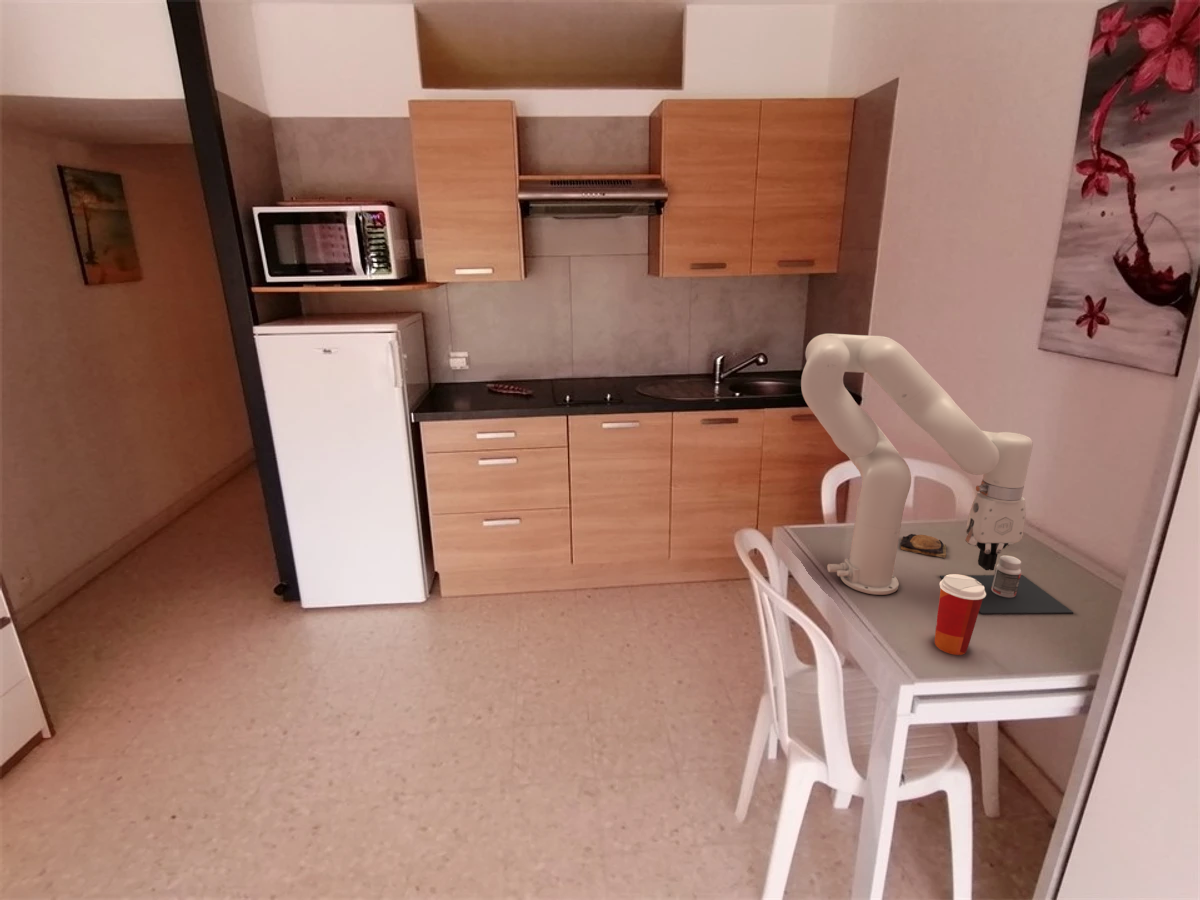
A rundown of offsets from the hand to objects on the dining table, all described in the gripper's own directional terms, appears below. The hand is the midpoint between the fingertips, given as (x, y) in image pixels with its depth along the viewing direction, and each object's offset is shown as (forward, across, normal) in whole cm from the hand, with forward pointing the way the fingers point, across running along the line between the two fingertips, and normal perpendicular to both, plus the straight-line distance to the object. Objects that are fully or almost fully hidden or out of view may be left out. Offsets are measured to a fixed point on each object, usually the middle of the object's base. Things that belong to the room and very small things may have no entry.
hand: (985, 567), depth 136 cm
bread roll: (+7, -1, +23) cm, 24 cm away
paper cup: (+7, -18, -19) cm, 27 cm away
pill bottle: (+7, +5, 0) cm, 9 cm away
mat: (+7, +5, 0) cm, 9 cm away
